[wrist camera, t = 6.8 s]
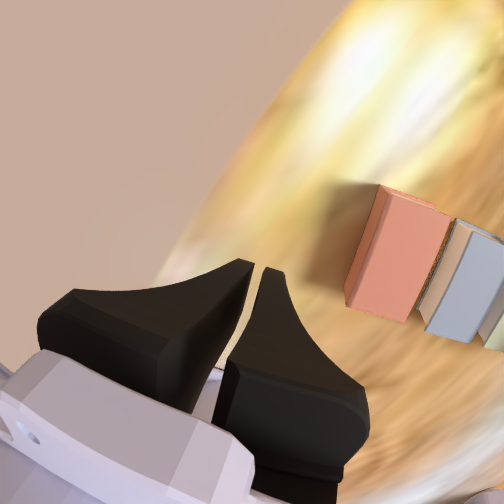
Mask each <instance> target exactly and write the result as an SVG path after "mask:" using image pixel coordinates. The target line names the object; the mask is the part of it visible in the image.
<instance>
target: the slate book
mask: <svg viewBox="0 0 504 504" xmlns="http://www.w3.org/2000/svg"><path fill="white" fill-rule="evenodd" d="M503 284H504V241H503V240H502V239H501V238H499V237H498V236H496V235H493V234H491V233H489V232H487V231H485V230H482V229H480V228H478V227H476V226H474V225H471V224H469V223H467V222H464V221H462V220H460V219H457V218H456V221H455V223H454V226H453V229H452V231H451V234H450V236H449V239H448V241H447V243H446V246H445V248H444V251H443V253H442V255H441V258H440V260H439V262H438V264H437V267H436V269H435V271H434V273H433V275H432V278H431V280H430V282H429V284H428V286H427V288H426V290H425V292H424V294H423V296H422V298H421V300H420V302H419V304H418V306H417V308H416V310H417V311H420V313H421V315H422V317H423V320H424V322H425V325H426V327H425V329H424V331H425V332H426V333H430V334H433V335H437V336H441V337H445V338H449V339H453V340H456V341H460V342H464V343H468V344H470V343H471V341H472V340H473V338H474V336H475V335H476V333H477V332H478V330H479V328H480V327H481V325H482V323H483V321H484V320H485V318H486V316H487V314H488V313H489V311H490V309H491V307H492V305H493V304H494V302H495V300H496V298H497V296H498V294H499V292H500V290H501V288H502V286H503Z"/></svg>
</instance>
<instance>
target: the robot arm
mask: <svg viewBox="0 0 504 504" xmlns="http://www.w3.org/2000/svg"><path fill="white" fill-rule="evenodd" d="M254 265H255V263H252V262H249V261H246V260H242V259H239V258H238V259H236V260H233V261H231V262H229V263H227V264H225V265H223V266H221V267H219V268H217V269H215V270H213V271H210V272H208V273H205V274H203V275H200V276H197V277H195V278H192V279H189V280H186V281H183V282H179V283H176V284H171V285H167V286H162V287H156V288H149V289H142V290H130V291H98V290H83V289H73V290H71V291H70V292H69V293H67V294H66V295H65V296H64V297H62V298H61V299H60V300H58V301H57V302H56V303H54V304H53V305H52V306H51V307H49V308H48V309H47V310H46V311H44V312H43V313H42V315H41V316H40V317H39V319H38V323H37V335H38V342H39V346H40V350H41V351H39V352H38V353H36V354H34V355H33V356H32V357H31V358H30V359H28V360H27V361H26V362H25V363H24V364H23V365H22V366H21V367H20V368H19V369H18V370H17V371H16V372H15V373H13V372H11V371H10V370H9V369H8V368H6V367H5V366H4V365H3V364H1V363H0V504H336V500H337V488H338V483H340V482H341V481H342V479H343V471H344V465H345V464H346V463H347V462H348V461H349V460H350V459H351V458H352V457H353V456H354V455H355V454H356V453H357V451H358V450H359V449H360V448H361V447H362V446H363V445H364V443H365V442H366V440H367V438H368V437H369V431H370V416H369V408H368V402H367V398H366V394H365V389H364V387H363V386H362V385H360V384H359V383H358V382H356V381H355V380H354V379H352V378H351V377H350V376H348V375H347V374H346V373H344V372H343V371H342V370H341V369H340V368H339V367H338V366H336V365H335V364H334V363H333V362H332V361H331V360H330V359H329V358H328V357H327V356H326V355H325V354H324V353H323V352H322V350H321V349H320V348H319V347H318V346H317V344H316V343H315V342H314V341H313V340H312V338H311V337H310V335H309V334H308V333H307V331H306V329H305V328H304V326H303V325H302V323H301V321H300V319H299V317H298V315H297V313H296V311H295V308H294V306H293V304H292V301H291V298H290V295H289V292H288V288H287V285H286V279H285V274H284V272H282V271H279V270H275V269H272V268H269V267H266V268H265V270H264V271H263V274H262V278H261V281H260V285H259V289H258V292H257V296H256V299H255V303H254V307H253V310H252V314H251V317H250V319H249V321H248V323H247V325H246V327H245V329H244V331H243V333H242V335H241V337H240V338H239V340H238V342H237V344H236V345H235V347H234V349H233V350H232V352H231V353H230V355H229V356H228V358H227V361H226V365H225V369H224V371H222V370H219V369H216V368H214V366H215V364H216V363H217V361H218V359H219V358H220V356H221V354H222V352H223V351H224V349H225V347H226V345H227V344H228V342H229V340H230V338H231V336H232V335H233V333H234V331H235V329H236V326H237V324H238V321H239V319H240V316H241V313H242V311H243V307H244V304H245V300H246V296H247V292H248V288H249V284H250V280H251V276H252V273H253V269H254ZM463 504H504V489H500V490H493V491H486V492H482V493H479V494H477V495H475V496H473V497H471V498H470V499H468V500H467V501H466V502H464V503H463Z"/></svg>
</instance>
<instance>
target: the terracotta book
mask: <svg viewBox="0 0 504 504" xmlns="http://www.w3.org/2000/svg"><path fill="white" fill-rule="evenodd" d="M451 218H452V217H450V216H448V215H446V214H443V213H441V212H438V211H437V210H436V205H434V204H431V203H428V202H426V201H423V200H421V199H418V198H416V197H413V196H410V195H408V194H405V193H402V192H399V191H397V190H394V189H391V188H388V187H386V186H383V185H379V188H378V191H377V194H376V197H375V200H374V203H373V206H372V209H371V212H370V215H369V218H368V221H367V224H366V227H365V230H364V232H363V235H362V238H361V241H360V243H359V246H358V249H357V252H356V254H355V257H354V260H353V262H352V265H351V267H350V270H349V273H348V275H347V278H346V280H345V283H344V292H345V303H346V307H349V308H353V309H356V310H360V311H363V312H367V313H370V314H374V315H377V316H381V317H385V318H388V319H392V320H395V321H399V322H403V323H404V322H405V320H406V319H407V317H408V315H409V313H410V311H411V309H412V307H413V305H414V303H415V301H416V299H417V297H418V295H419V293H420V291H421V289H422V287H423V285H424V282H425V280H426V278H427V276H428V274H429V272H430V269H431V267H432V265H433V263H434V260H435V258H436V256H437V253H438V251H439V248H440V246H441V244H442V241H443V239H444V236H445V234H446V231H447V229H448V226H449V223H450V221H451Z"/></svg>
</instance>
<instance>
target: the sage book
mask: <svg viewBox="0 0 504 504" xmlns="http://www.w3.org/2000/svg"><path fill="white" fill-rule="evenodd" d="M478 333H479V334H480V336H481V338H482V340H483V341H484V342H483V344H482V346H483V347H484V348H488V349H492V350H497V351H501V352H504V284H503V286H502V288H501V290H500V292H499V294H498V296H497V298H496V300H495V302H494V304H493V305H492V307H491V309H490V311H489V313H488V314H487V316H486V318H485V320H484V321H483V323H482V325H481V327H480V328H479V330H478Z"/></svg>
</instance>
